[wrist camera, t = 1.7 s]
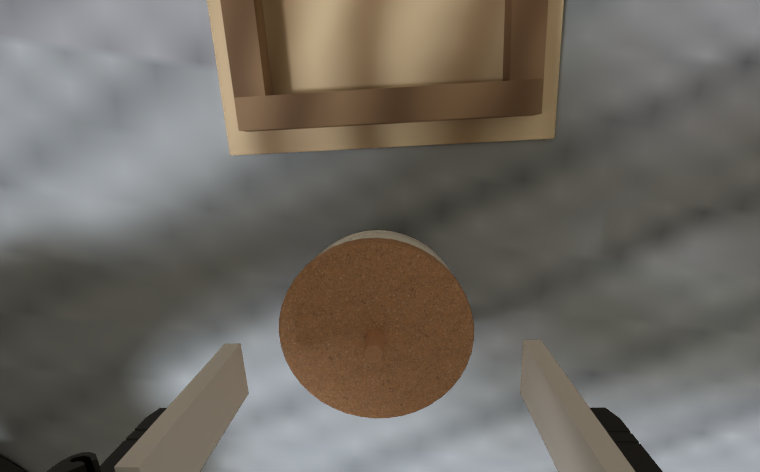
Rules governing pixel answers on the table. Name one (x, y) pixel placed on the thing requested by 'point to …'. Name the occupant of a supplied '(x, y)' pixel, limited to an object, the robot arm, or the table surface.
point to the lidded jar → (376, 325)
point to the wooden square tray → (385, 72)
